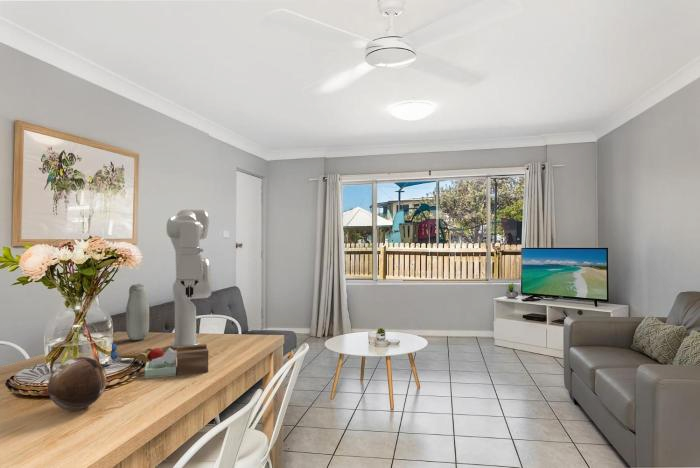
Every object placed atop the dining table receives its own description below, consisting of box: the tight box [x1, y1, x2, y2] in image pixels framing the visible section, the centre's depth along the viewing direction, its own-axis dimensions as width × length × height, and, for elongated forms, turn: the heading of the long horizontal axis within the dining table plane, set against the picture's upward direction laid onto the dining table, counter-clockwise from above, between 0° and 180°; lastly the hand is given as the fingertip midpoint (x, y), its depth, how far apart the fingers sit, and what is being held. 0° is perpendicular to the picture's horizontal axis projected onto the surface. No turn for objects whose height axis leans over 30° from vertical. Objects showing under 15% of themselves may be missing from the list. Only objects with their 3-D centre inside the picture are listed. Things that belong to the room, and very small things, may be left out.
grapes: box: [111, 342, 119, 360], centre depth 178 cm, size 12×7×12 cm, turn 87°
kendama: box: [120, 347, 165, 365], centre depth 182 cm, size 8×6×18 cm
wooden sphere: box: [47, 356, 108, 411], centre depth 133 cm, size 15×15×15 cm
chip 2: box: [162, 347, 177, 364], centre depth 169 cm, size 4×4×4 cm
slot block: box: [176, 343, 209, 376], centre depth 173 cm, size 12×11×8 cm
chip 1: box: [152, 357, 165, 369], centre depth 168 cm, size 4×4×4 cm
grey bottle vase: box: [125, 283, 150, 341], centre depth 223 cm, size 10×10×28 cm
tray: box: [144, 358, 177, 380], centre depth 168 cm, size 12×11×3 cm
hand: (189, 296), depth 180 cm, fingers closed
